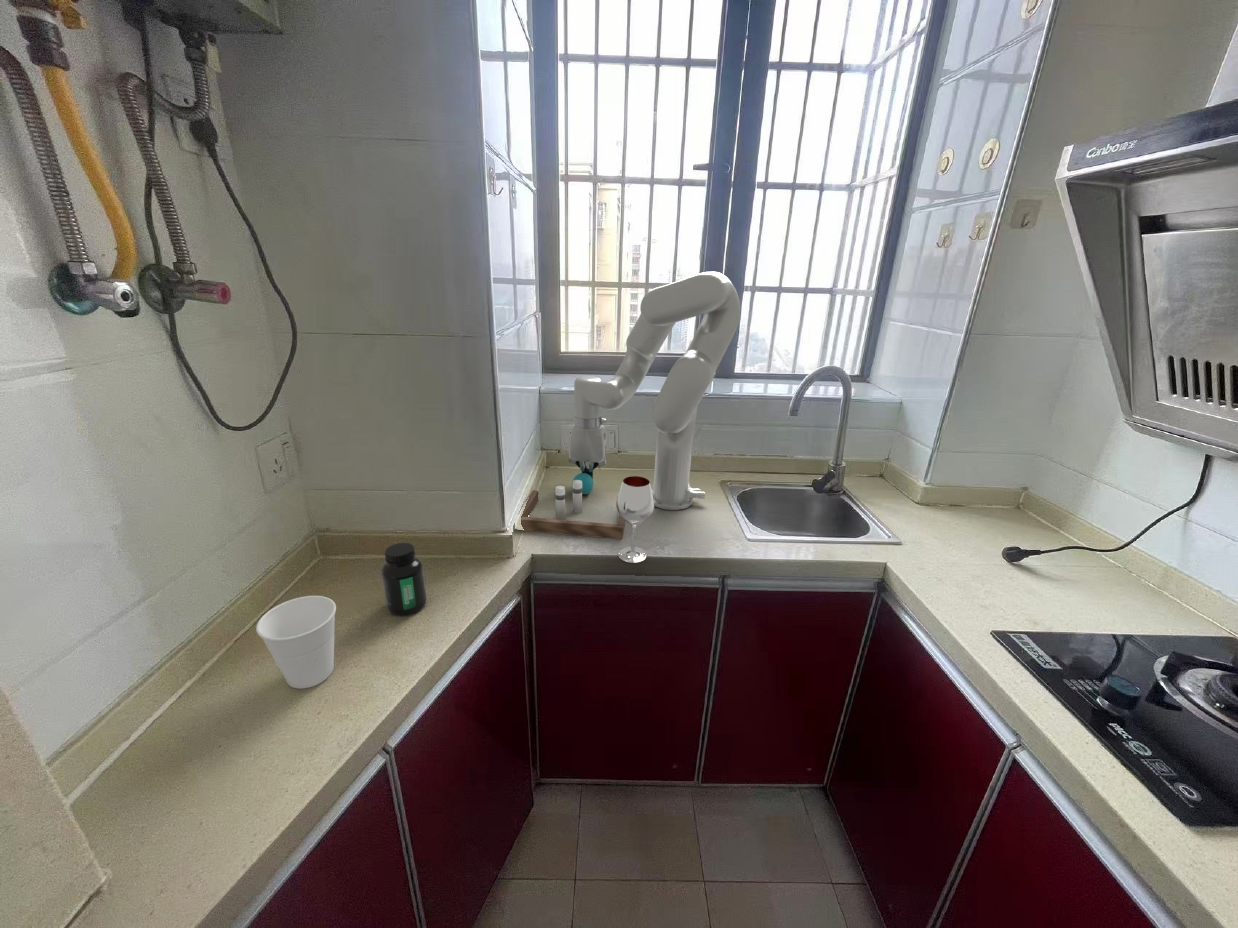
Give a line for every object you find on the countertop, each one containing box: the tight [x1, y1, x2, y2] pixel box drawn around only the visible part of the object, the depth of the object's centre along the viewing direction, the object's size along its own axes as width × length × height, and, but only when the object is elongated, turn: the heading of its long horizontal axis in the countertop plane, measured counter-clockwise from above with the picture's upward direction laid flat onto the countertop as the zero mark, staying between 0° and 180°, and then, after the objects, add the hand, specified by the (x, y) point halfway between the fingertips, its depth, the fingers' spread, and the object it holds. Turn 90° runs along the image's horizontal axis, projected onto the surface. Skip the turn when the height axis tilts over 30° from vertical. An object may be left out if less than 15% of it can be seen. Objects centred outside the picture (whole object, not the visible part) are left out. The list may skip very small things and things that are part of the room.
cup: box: [255, 595, 337, 690], centre depth 74 cm, size 10×10×11 cm
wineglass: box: [615, 475, 655, 564], centre depth 108 cm, size 8×8×18 cm
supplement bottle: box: [380, 542, 427, 617], centre depth 90 cm, size 7×7×12 cm
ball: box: [571, 472, 595, 495], centre depth 140 cm, size 6×6×6 cm
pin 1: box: [554, 485, 566, 520], centre depth 125 cm, size 2×2×8 cm
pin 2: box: [572, 480, 583, 514], centre depth 129 cm, size 2×2×8 cm
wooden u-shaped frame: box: [521, 489, 627, 540], centre depth 126 cm, size 26×17×3 cm, turn 84°
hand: (587, 482), depth 145 cm, fingers closed
